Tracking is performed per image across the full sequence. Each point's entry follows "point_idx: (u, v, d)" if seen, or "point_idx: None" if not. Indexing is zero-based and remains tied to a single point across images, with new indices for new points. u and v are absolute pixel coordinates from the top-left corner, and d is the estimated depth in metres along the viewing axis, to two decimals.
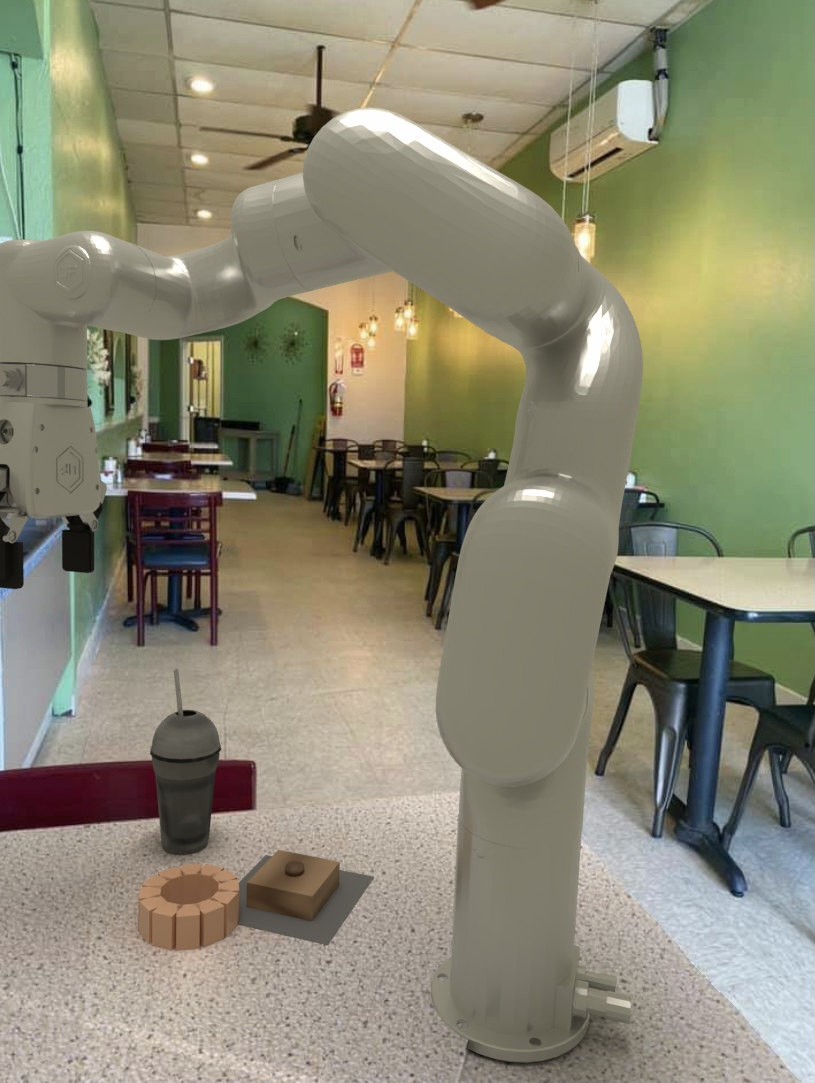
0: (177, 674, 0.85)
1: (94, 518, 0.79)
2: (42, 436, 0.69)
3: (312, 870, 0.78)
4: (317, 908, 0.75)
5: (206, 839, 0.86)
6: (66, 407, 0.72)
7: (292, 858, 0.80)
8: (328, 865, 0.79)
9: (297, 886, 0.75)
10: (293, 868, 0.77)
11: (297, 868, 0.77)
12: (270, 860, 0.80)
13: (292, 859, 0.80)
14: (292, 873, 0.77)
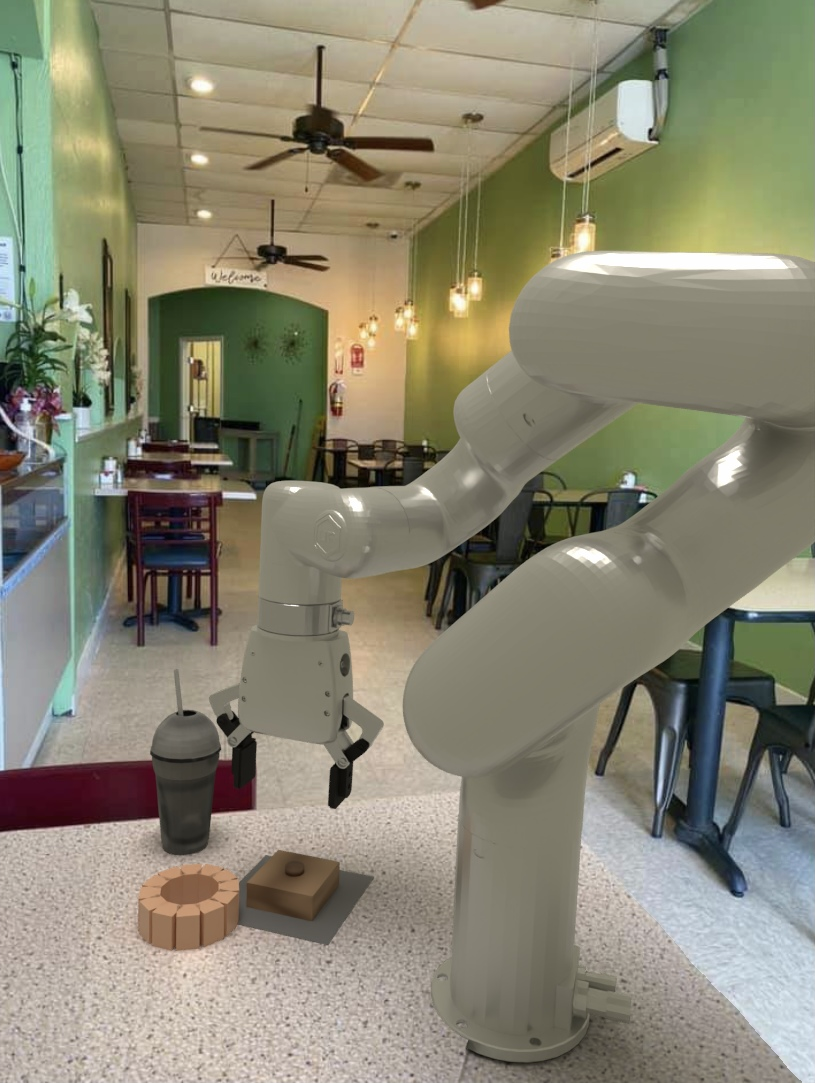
0: (177, 674, 0.85)
1: None
2: None
3: (312, 870, 0.78)
4: (317, 908, 0.75)
5: (206, 839, 0.86)
6: None
7: (292, 858, 0.80)
8: (328, 865, 0.79)
9: (297, 886, 0.75)
10: (293, 868, 0.77)
11: (297, 868, 0.77)
12: (270, 860, 0.80)
13: (292, 859, 0.80)
14: (292, 873, 0.77)
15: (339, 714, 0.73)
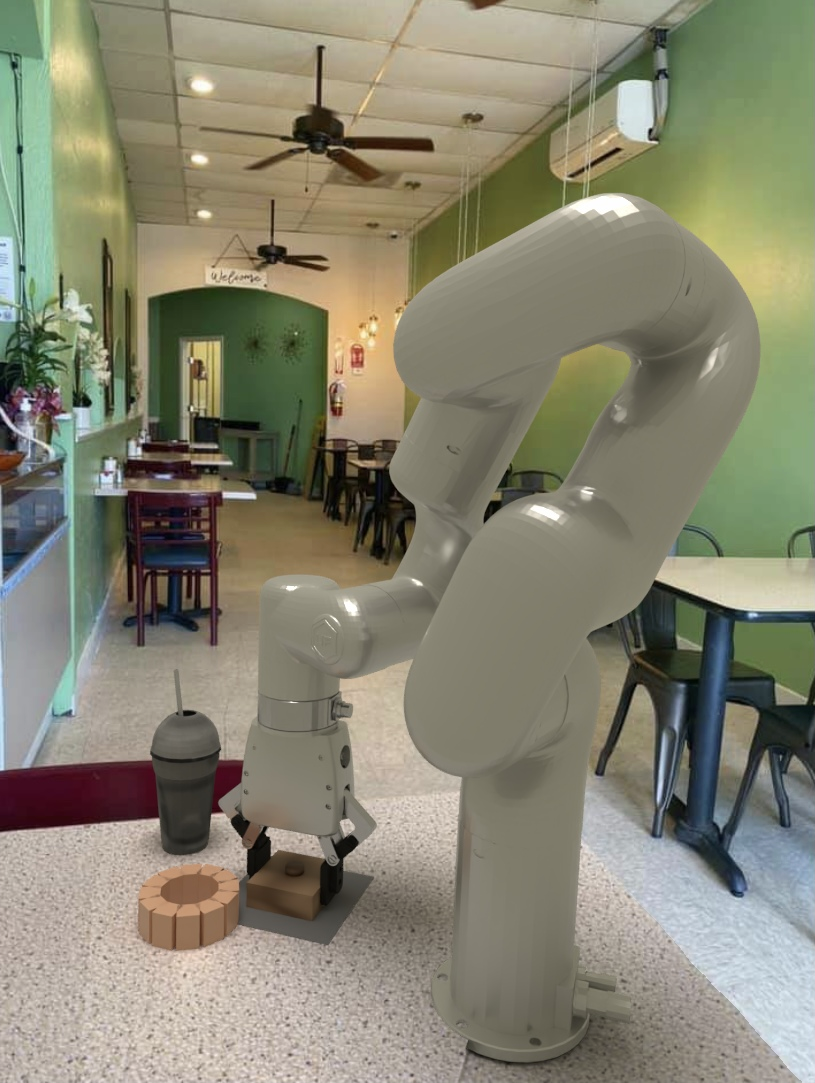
0: (177, 674, 0.85)
1: None
2: None
3: (312, 870, 0.78)
4: (317, 908, 0.75)
5: (206, 839, 0.86)
6: None
7: (292, 858, 0.80)
8: None
9: (296, 886, 0.75)
10: (293, 868, 0.77)
11: (297, 868, 0.77)
12: (270, 860, 0.80)
13: (292, 859, 0.80)
14: (292, 873, 0.77)
15: (340, 806, 0.74)
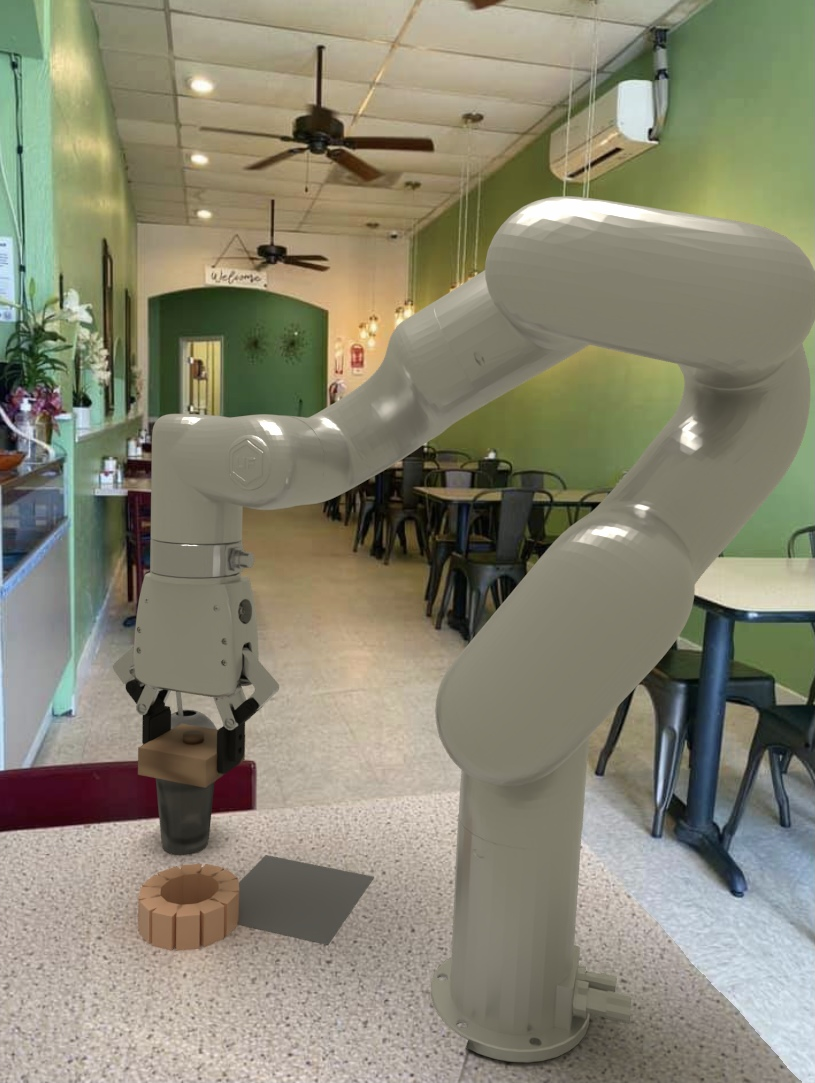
0: None
1: None
2: None
3: (213, 740, 0.72)
4: (213, 776, 0.69)
5: (206, 839, 0.86)
6: None
7: (194, 730, 0.74)
8: None
9: (191, 752, 0.69)
10: (191, 735, 0.71)
11: (195, 736, 0.71)
12: (170, 731, 0.74)
13: (194, 731, 0.74)
14: (190, 741, 0.71)
15: (238, 664, 0.68)
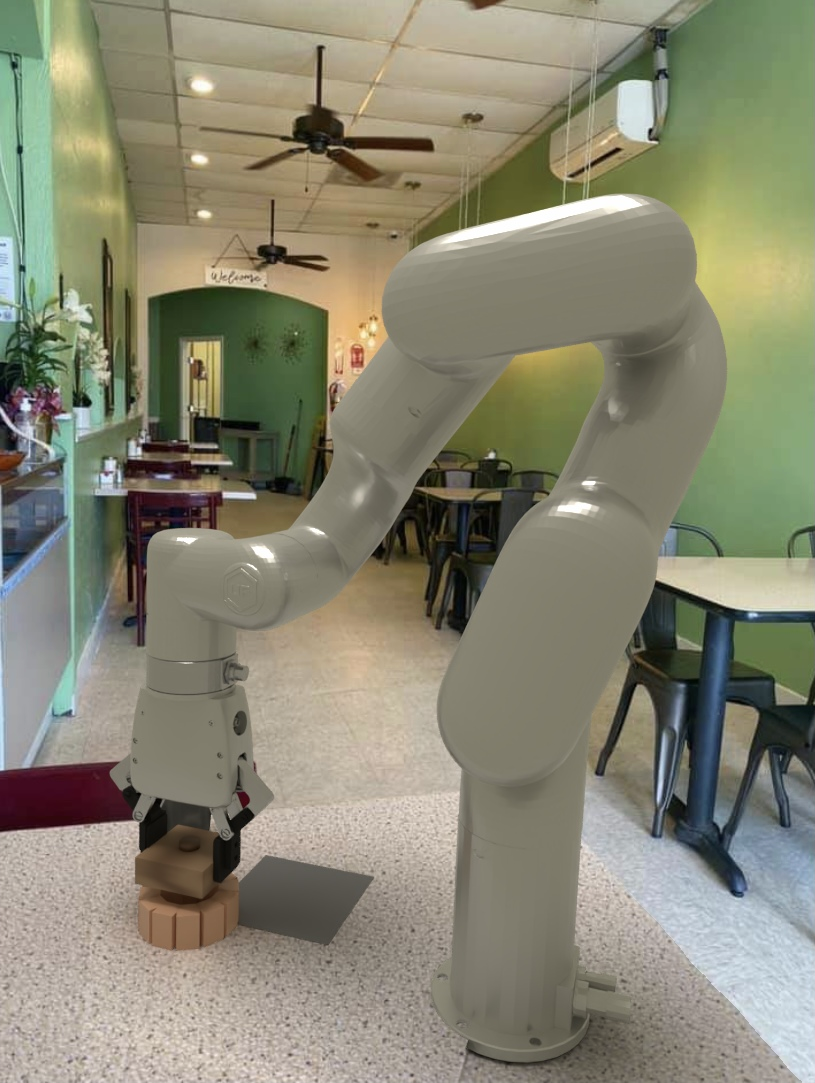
0: None
1: None
2: None
3: (209, 845, 0.73)
4: (209, 885, 0.70)
5: None
6: None
7: (190, 833, 0.75)
8: None
9: (188, 862, 0.70)
10: (188, 842, 0.72)
11: (191, 843, 0.72)
12: (166, 835, 0.75)
13: (190, 834, 0.75)
14: (186, 848, 0.72)
15: (234, 776, 0.69)
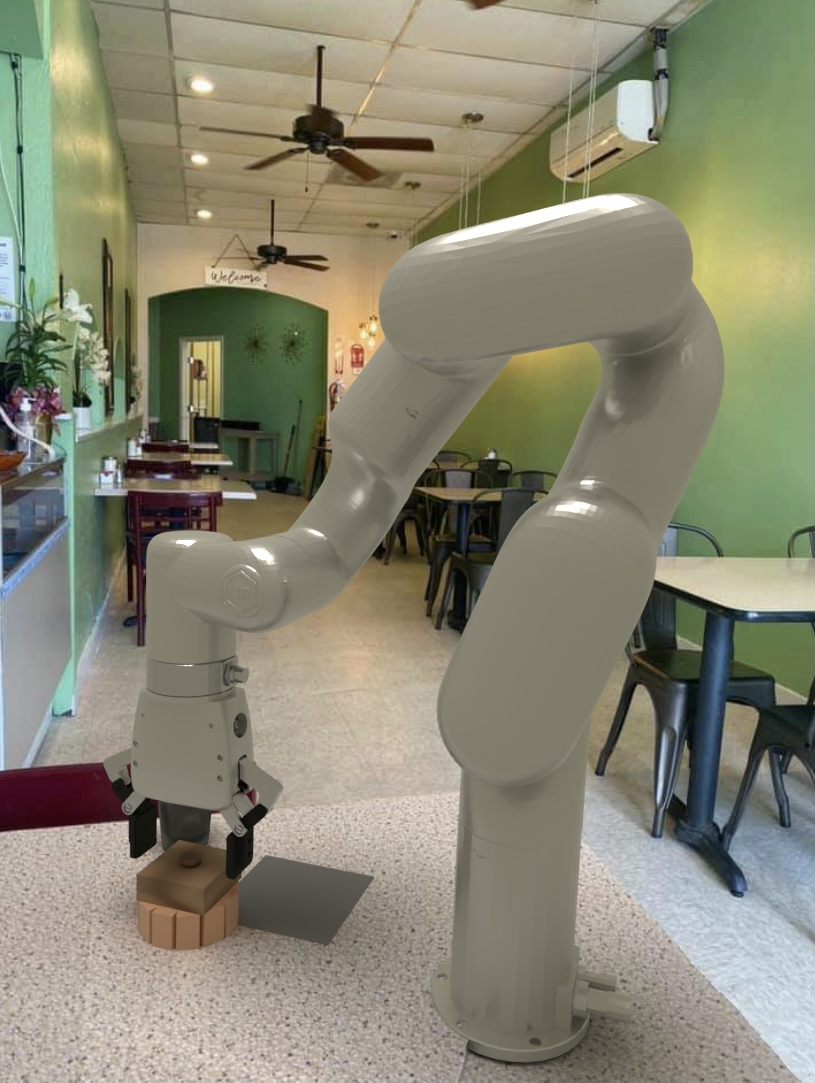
0: None
1: None
2: None
3: (210, 861, 0.73)
4: (211, 902, 0.70)
5: (206, 839, 0.86)
6: None
7: (191, 849, 0.75)
8: None
9: (189, 878, 0.70)
10: (189, 859, 0.72)
11: (193, 859, 0.72)
12: (167, 851, 0.75)
13: (191, 850, 0.75)
14: (187, 865, 0.72)
15: (234, 778, 0.69)
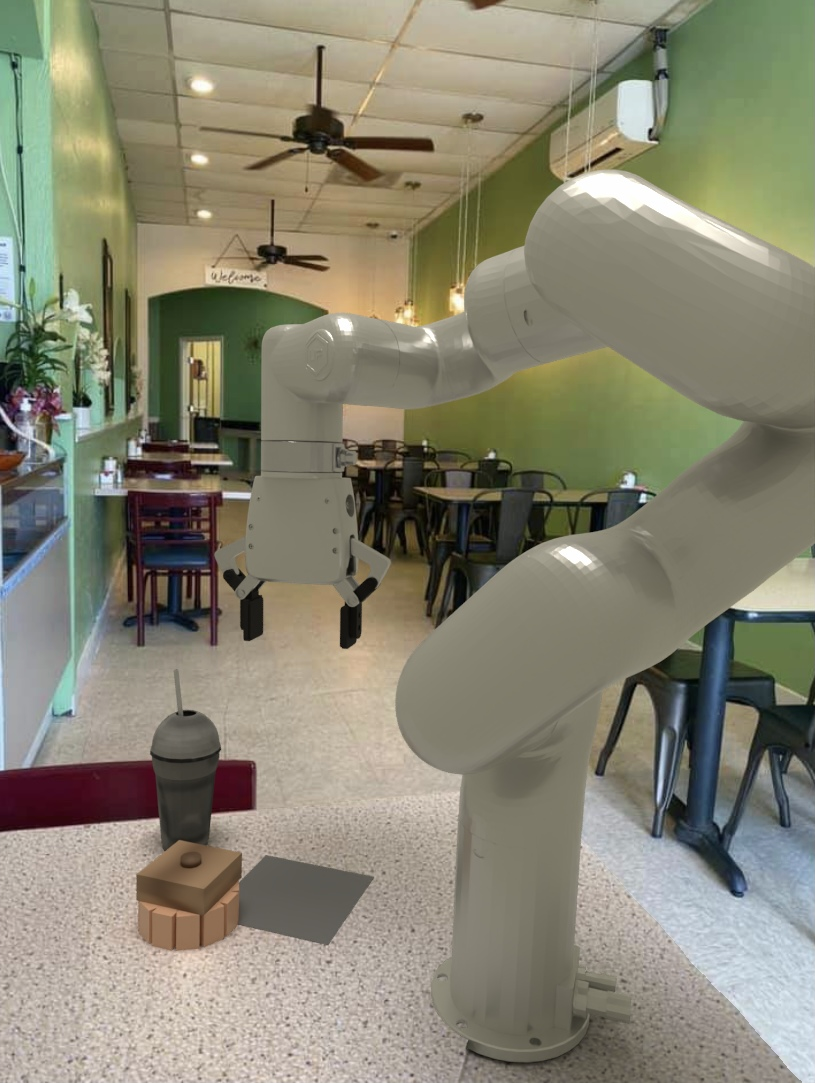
0: (177, 674, 0.85)
1: None
2: None
3: (210, 861, 0.73)
4: (211, 902, 0.70)
5: (206, 839, 0.86)
6: None
7: (191, 849, 0.75)
8: (228, 856, 0.74)
9: (189, 878, 0.70)
10: (189, 859, 0.72)
11: (193, 859, 0.72)
12: (167, 851, 0.75)
13: (191, 850, 0.75)
14: (187, 865, 0.72)
15: (347, 552, 0.75)
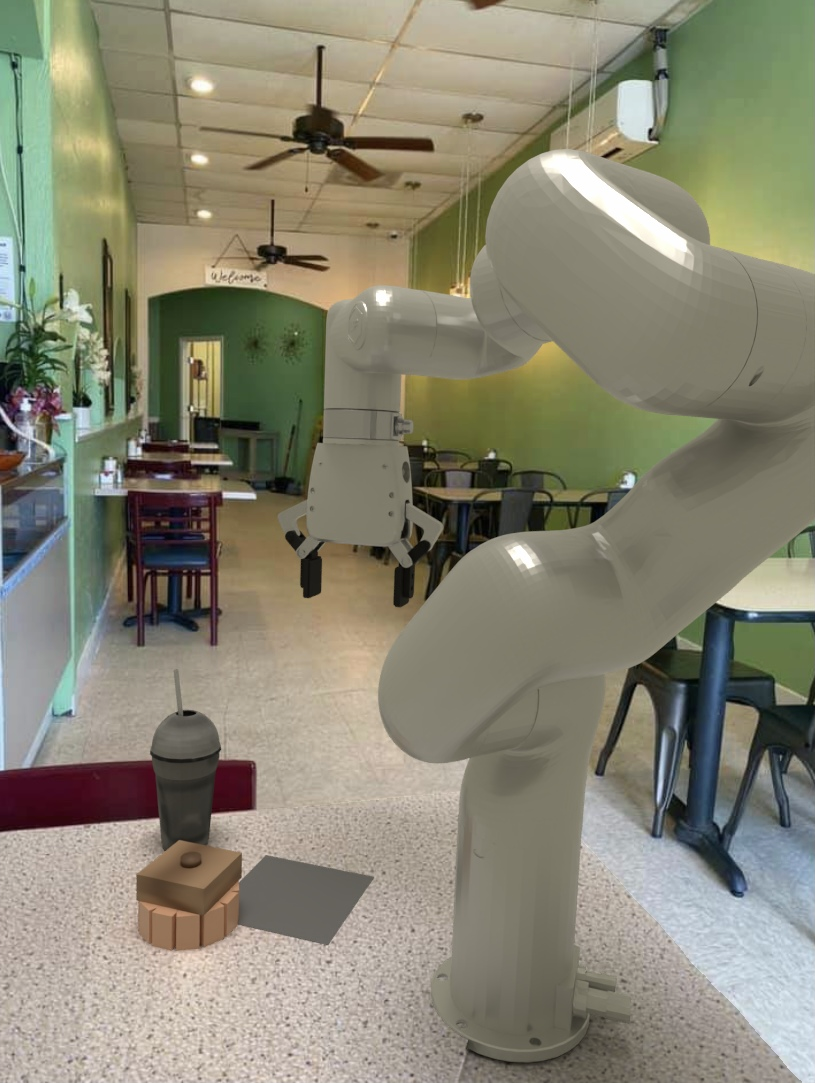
0: (177, 674, 0.85)
1: None
2: None
3: (210, 861, 0.73)
4: (211, 902, 0.70)
5: (206, 839, 0.86)
6: None
7: (191, 849, 0.75)
8: (228, 856, 0.74)
9: (189, 878, 0.70)
10: (189, 859, 0.72)
11: (193, 859, 0.72)
12: (167, 851, 0.75)
13: (191, 850, 0.75)
14: (187, 865, 0.72)
15: (402, 516, 0.79)
